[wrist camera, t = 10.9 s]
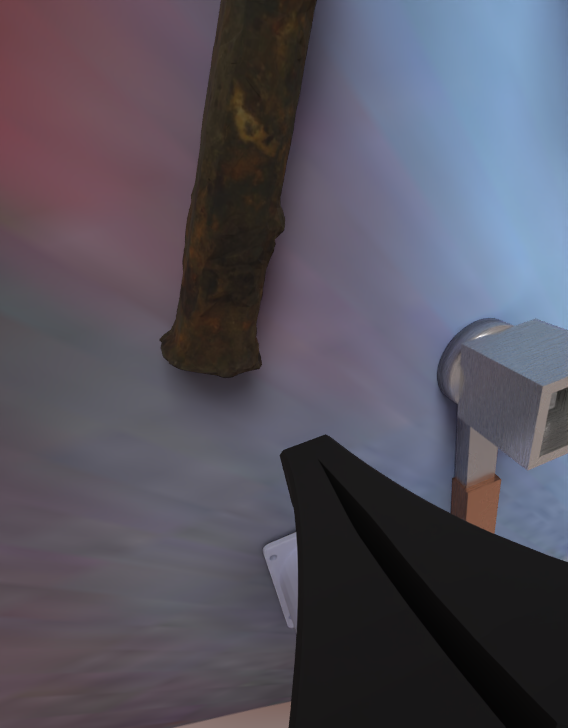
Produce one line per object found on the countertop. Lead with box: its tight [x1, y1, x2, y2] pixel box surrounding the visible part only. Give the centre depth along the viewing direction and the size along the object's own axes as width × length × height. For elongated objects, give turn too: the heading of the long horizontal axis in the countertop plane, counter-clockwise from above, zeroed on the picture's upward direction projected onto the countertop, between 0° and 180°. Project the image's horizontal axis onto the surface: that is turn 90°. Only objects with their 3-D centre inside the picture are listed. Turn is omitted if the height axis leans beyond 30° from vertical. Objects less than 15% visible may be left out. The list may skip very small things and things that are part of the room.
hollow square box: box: [457, 319, 568, 470], centre depth 20 cm, size 5×5×5 cm
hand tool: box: [160, 0, 317, 378], centre depth 13 cm, size 19×4×5 cm, turn 165°
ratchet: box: [437, 318, 557, 534], centre depth 26 cm, size 21×6×4 cm, turn 12°
